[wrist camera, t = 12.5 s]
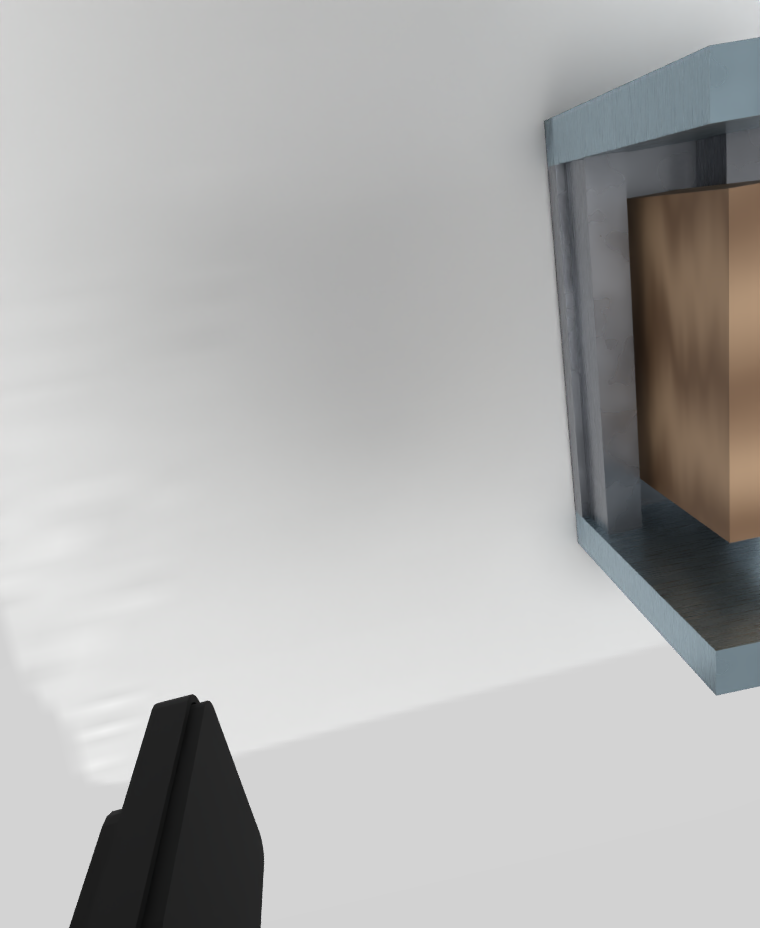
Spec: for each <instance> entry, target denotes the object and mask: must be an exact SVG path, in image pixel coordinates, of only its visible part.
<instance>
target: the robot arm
mask: <svg viewBox="0 0 760 928" xmlns="http://www.w3.org/2000/svg"><path fill="white" fill-rule="evenodd" d="M263 872H264V853H263V845H262V840H261V836H260V833H259V830H258V827H257V824H256V822H255V819H254V816H253V814H252V811H251V808H250V806H249V803H248V800H247V797H246V794H245V792H244V789H243V786H242V784H241V781H240V778H239V775H238V773H237V770H236V767H235V764H234V762H233V759H232V756H231V753H230V751H229V748H228V745H227V743H226V740H225V737H224V734H223V732H222V729H221V726H220V723H219V721H218V718H217V715H216V713H215V710H214V707H213V705H212V703H211V702H210V701H205V702H201V703H200V702H199V700H198V698H197V697H196V696H195V695H193V694H192V695H188V696H184V697H180V698H176V699H172V700H168V701H164V702H160V703H157V704H155V705H154V707H153V709H152V712H151V715H150V718H149V722H148V725H147V728H146V731H145V735H144V738H143V741H142V745H141V748H140V751H139V755H138V758H137V761H136V764H135V768H134V771H133V774H132V778H131V781H130V784H129V788H128V791H127V794H126V798H125V801H124V804H123V807H122V809H120V810H116V811H112V812H111V813H110V814H109V815H108V816H107V818H106V820H105V822H104V824H103V826H102V829H101V832H100V835H99V838H98V841H97V845H96V847H95V850H94V854H93V857H92V860H91V863H90V866H89V869H88V872H87V875H86V878H85V881H84V884H83V887H82V890H81V893H80V896H79V900H78V902H77V906H76V908H75V912H74V915H73V918H72V921H71V924H70V927H69V928H261V927H260V926H261V909H262V908H261V907H262V891H263V890H262V889H263Z"/></svg>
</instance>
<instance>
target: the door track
mask: <svg viewBox="0 0 760 928" xmlns="http://www.w3.org/2000/svg"><path fill="white" fill-rule="evenodd" d="M544 124H545V137H546V149H547V161H548V174H549V186H550V199H551V211H552V224H553V236H554V249H555V261H556V273H557V286H558V298H559V311H560V323H561V336H562V348H563V361H564V373H565V386H566V398H567V410H568V423H569V435H570V448H571V460H572V473H573V485H574V498H575V510H576V522H577V535H578V543H579V544H580V545H581V547H582V548H583V549H584V550H585V551H586V552H587V553H588V554H589V555H590V557H591V558H592V559H593V560H594V561H595V562H596V563H597V564H598V565H599V566H600V568H601V569H602V570H603V571H604V572H605V573H606V574H607V575H608V576H609V578H610V579H611V580H612V581H613V582H614V583H615V584H616V585H617V586H618V587H619V589H620V590H621V591H622V592H623V593H624V594H625V595H626V596H627V597H628V599H629V600H630V601H631V602H632V603H633V604H634V605H635V606H636V607H637V608H638V610H639V611H640V612H641V613H642V614H643V615H644V616H645V617H646V618H647V620H648V621H649V622H650V623H651V624H652V625H653V626H654V627H655V628H656V629H657V631H658V632H659V633H660V634H661V635H662V636H663V637H664V638H665V639H666V641H667V642H668V643H669V644H670V645H671V646H672V647H673V648H674V649H675V650H676V651H677V652H678V654H679V655H680V656H681V657H682V658H683V659H684V660H685V662H686V663H687V664H688V665H689V666H690V667H691V668H692V669H693V670H694V671H695V673H696V674H697V675H698V676H699V677H700V678H701V679H702V680H703V681H704V683H706V685H707V686H708V687H709V688H710V689H711V690H712V691H713V692H714V693H715V695H721V694H725V693H729V692H735V691H739V690H743V689H749V688H753V687H758V686H760V537H756V538H751V539H747V540H742V541H737V542H732V543H729V542H728V541H726V540H725V539H724V538H722V537H721V536H719V535H718V534H717V533H715V532H714V531H712V530H711V529H710V528H708V527H707V526H705V525H704V524H703V523H701V522H700V521H698V520H697V519H696V518H694V517H693V516H691V515H690V514H689V513H687V512H686V511H684V510H683V509H682V508H680V507H679V506H678V505H676V504H675V503H673V502H672V501H671V500H669V499H668V498H666V497H665V496H664V495H662V494H661V493H659V492H658V491H657V490H655V489H654V488H652V487H651V486H650V485H648V484H647V483H645V482H644V481H643V480H641V479H640V469H639V448H638V426H637V405H636V384H635V363H634V341H633V320H632V299H631V278H630V256H629V235H628V214H627V198H633V197H639V196H644V195H650V194H656V193H661V192H667V191H673V190H678V189H686V188H695V187H703V186H712V185H720V184H729V183H738V182H746V181H755V180H760V37H759V38H753V39H747V40H741V41H734V42H728V43H722V44H716V45H710V46H708V47H706V48H703V49H701V50H699V51H697V52H695V53H692V54H690V55H688V56H686V57H684V58H681V59H679V60H677V61H675V62H673V63H670V64H668V65H666V66H664V67H662V68H659V69H657V70H655V71H653V72H651V73H649V74H646V75H644V76H642V77H640V78H638V79H635V80H633V81H631V82H629V83H627V84H624V85H622V86H620V87H618V88H616V89H613V90H611V91H609V92H607V93H605V94H602V95H600V96H598V97H596V98H594V99H592V100H589V101H587V102H585V103H583V104H581V105H578V106H576V107H574V108H572V109H570V110H567V111H565V112H563V113H561V114H559V115H556V116H554V117H552V118H550V119H548V120H546V121H544Z"/></svg>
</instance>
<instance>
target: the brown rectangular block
mask: <svg viewBox="0 0 760 928" xmlns="http://www.w3.org/2000/svg"><path fill="white" fill-rule="evenodd" d="M627 214H628V235H629V256H630V278H631V299H632V320H633V341H634V363H635V384H636V405H637V426H638V448H639V469H640V479H641V480H643V481H644V482H645V483H647V484H648V485H650V486H651V487H652V488H654V489H655V490H657V491H658V492H659V493H661V494H662V495H664V496H665V497H666V498H668V499H669V500H671V501H672V502H673V503H675V504H676V505H678V506H679V507H680V508H682V509H683V510H684V511H686V512H687V513H689V514H690V515H691V516H693V517H694V518H696V519H697V520H698V521H700V522H701V523H703V524H704V525H705V526H707V527H708V528H710V529H711V530H712V531H714V532H715V533H717V534H718V535H719V536H721V537H722V538H724V539H725V540H726V541H728V542H729V543H732V542H737V541H742V540H747V539H751V538H756V537H760V180H755V181H746V182H738V183H729V184H720V185H712V186H703V187H695V188H686V189H678V190H673V191H667V192H661V193H656V194H650V195H644V196H639V197H633V198H627Z"/></svg>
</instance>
